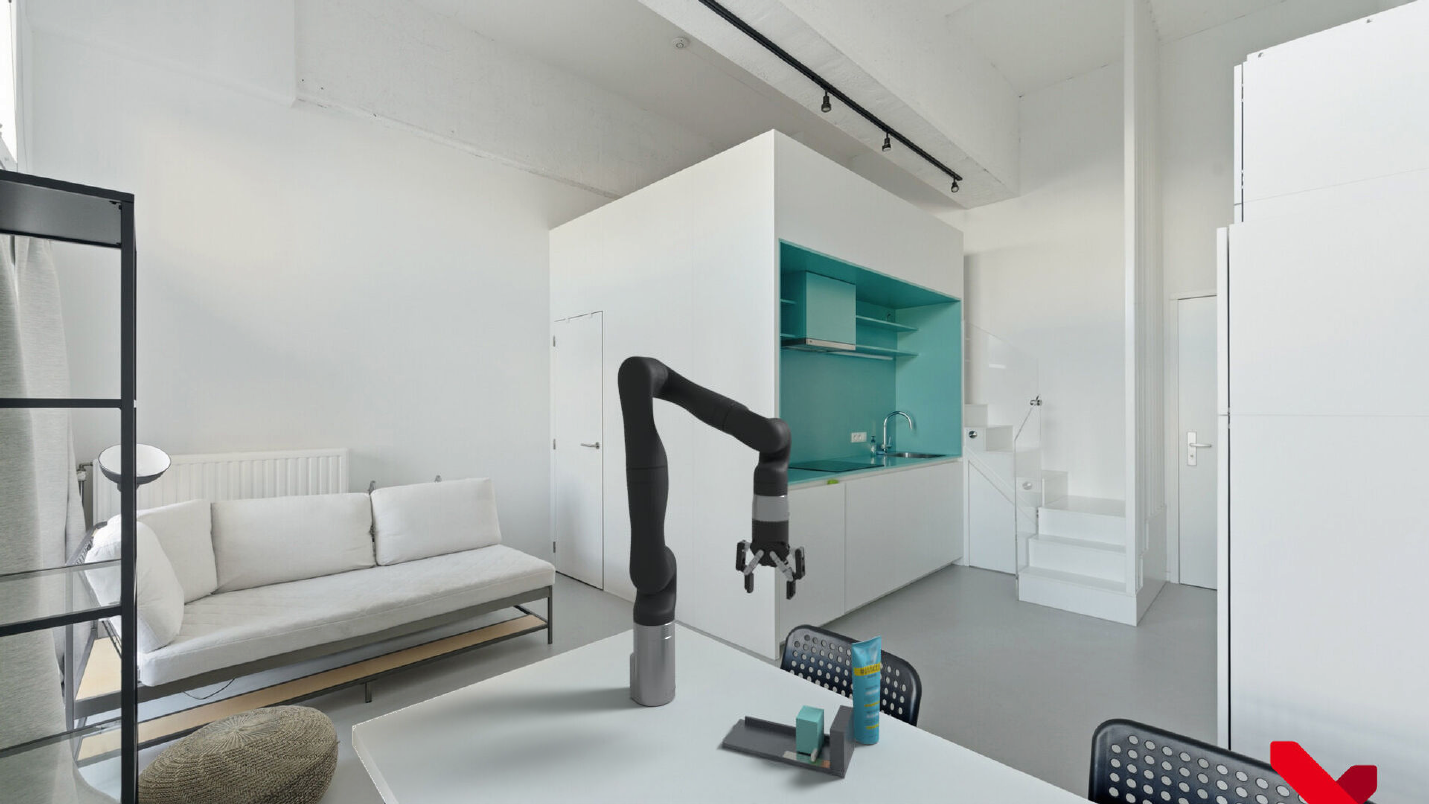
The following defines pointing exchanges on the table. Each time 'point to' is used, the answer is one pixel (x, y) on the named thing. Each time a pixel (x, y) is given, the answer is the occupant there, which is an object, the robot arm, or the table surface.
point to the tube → (866, 689)
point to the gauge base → (781, 743)
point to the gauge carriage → (810, 730)
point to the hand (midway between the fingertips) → (769, 595)
